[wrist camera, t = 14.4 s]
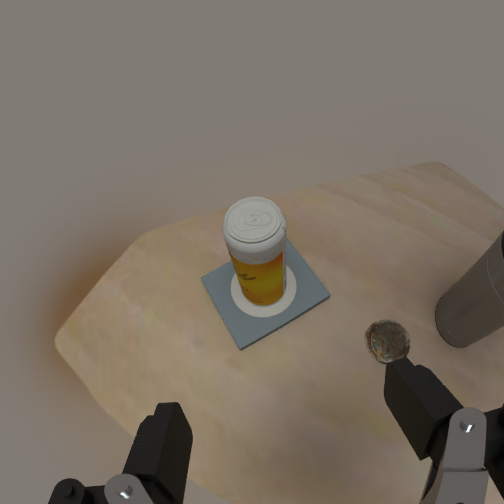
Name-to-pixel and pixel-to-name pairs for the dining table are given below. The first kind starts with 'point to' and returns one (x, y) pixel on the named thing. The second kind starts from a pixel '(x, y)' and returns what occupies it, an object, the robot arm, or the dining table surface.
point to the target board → (268, 316)
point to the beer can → (257, 248)
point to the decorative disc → (387, 341)
